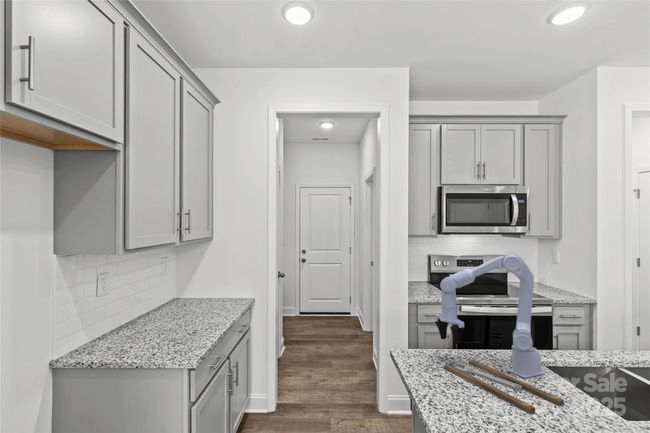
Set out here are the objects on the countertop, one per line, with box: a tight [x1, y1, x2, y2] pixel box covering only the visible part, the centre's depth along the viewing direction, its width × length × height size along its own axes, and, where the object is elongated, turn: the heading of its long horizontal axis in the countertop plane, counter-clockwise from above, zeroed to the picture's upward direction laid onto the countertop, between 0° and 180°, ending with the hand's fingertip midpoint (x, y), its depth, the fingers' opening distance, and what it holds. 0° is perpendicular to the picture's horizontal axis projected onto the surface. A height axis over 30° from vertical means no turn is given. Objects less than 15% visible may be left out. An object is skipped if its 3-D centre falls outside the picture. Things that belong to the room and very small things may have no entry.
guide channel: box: [443, 359, 565, 415], centre depth 128 cm, size 14×38×2 cm, turn 21°
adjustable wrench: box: [454, 363, 523, 391], centre depth 133 cm, size 25×6×2 cm, turn 30°
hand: (449, 341), depth 149 cm, fingers open, 7 cm apart
